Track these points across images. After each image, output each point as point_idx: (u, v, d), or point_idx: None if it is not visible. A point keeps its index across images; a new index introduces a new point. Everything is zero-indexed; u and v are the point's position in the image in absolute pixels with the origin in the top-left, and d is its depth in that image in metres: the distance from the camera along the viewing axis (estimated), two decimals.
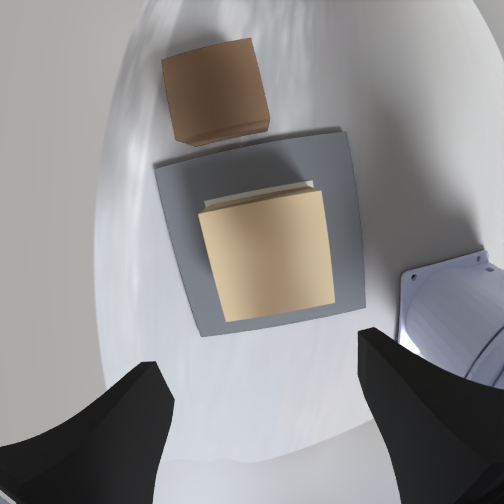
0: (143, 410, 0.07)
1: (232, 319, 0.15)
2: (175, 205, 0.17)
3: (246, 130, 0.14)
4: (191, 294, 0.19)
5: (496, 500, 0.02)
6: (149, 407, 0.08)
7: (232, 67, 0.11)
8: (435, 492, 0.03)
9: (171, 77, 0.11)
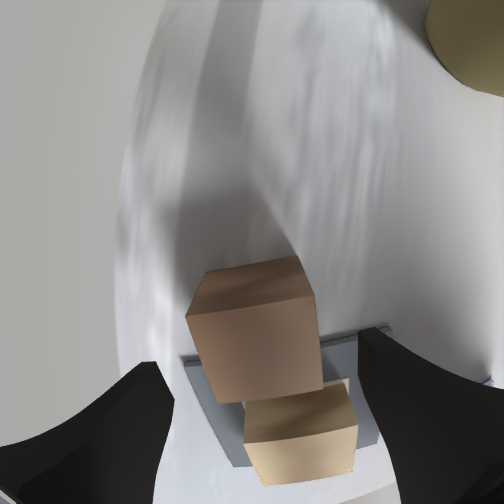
0: (143, 410, 0.07)
1: (268, 485, 0.14)
2: (209, 396, 0.16)
3: None
4: (226, 447, 0.17)
5: (496, 500, 0.02)
6: (149, 407, 0.08)
7: (286, 339, 0.10)
8: (435, 492, 0.03)
9: (204, 343, 0.10)
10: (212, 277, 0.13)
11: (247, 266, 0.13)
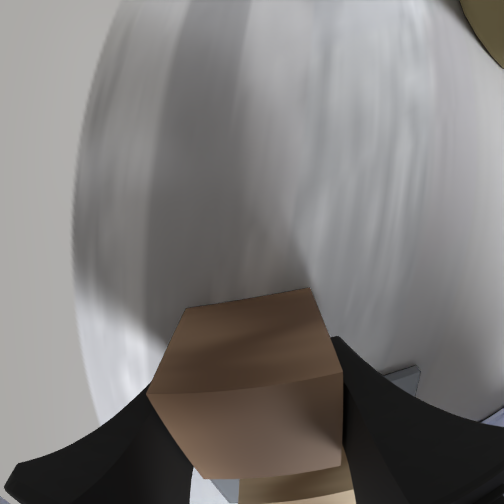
0: None
1: None
2: None
3: None
4: (220, 487, 0.14)
5: None
6: None
7: (295, 424, 0.06)
8: None
9: (177, 425, 0.06)
10: (191, 319, 0.09)
11: (240, 303, 0.10)
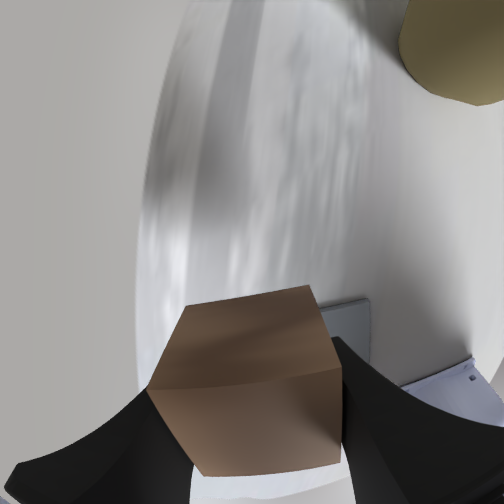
0: None
1: None
2: None
3: None
4: None
5: None
6: None
7: (295, 420, 0.06)
8: None
9: (177, 421, 0.06)
10: (191, 317, 0.09)
11: (240, 301, 0.10)
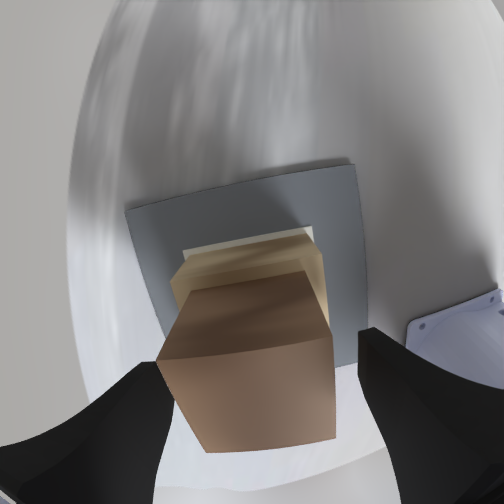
0: (143, 410, 0.07)
1: None
2: (150, 254, 0.14)
3: None
4: None
5: (496, 500, 0.02)
6: (149, 407, 0.08)
7: (292, 389, 0.07)
8: (435, 492, 0.03)
9: (183, 392, 0.07)
10: (196, 299, 0.10)
11: (241, 285, 0.10)
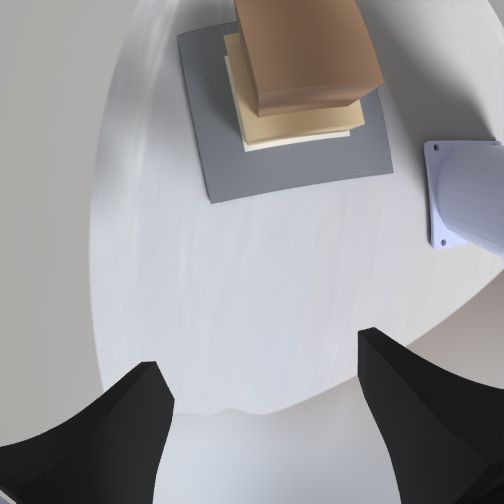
0: (143, 410, 0.07)
1: (254, 136, 0.13)
2: (195, 62, 0.14)
3: (336, 98, 0.10)
4: (203, 148, 0.16)
5: (496, 500, 0.02)
6: (149, 407, 0.08)
7: (333, 15, 0.07)
8: (435, 492, 0.03)
9: (249, 14, 0.07)
10: None
11: None
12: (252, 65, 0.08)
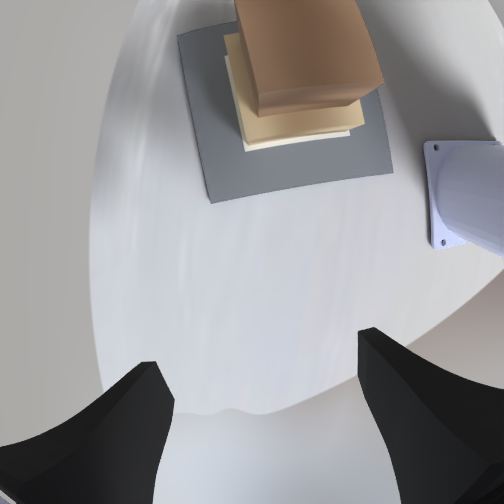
0: (143, 411, 0.07)
1: (254, 136, 0.13)
2: (195, 61, 0.14)
3: (336, 98, 0.10)
4: (203, 148, 0.16)
5: (496, 500, 0.02)
6: (149, 407, 0.08)
7: (333, 15, 0.07)
8: (435, 492, 0.03)
9: (249, 14, 0.07)
10: None
11: None
12: (252, 65, 0.08)
